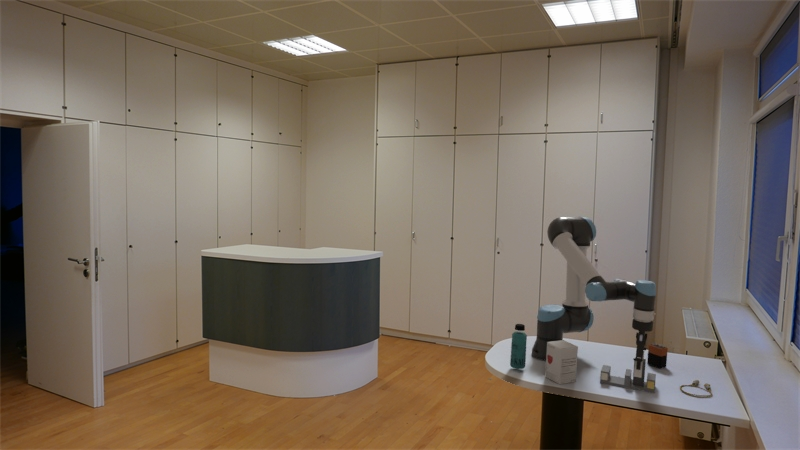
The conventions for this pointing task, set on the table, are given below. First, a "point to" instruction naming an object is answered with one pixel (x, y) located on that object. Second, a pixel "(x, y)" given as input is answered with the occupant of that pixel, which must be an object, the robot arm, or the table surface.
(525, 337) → the beverage bottle
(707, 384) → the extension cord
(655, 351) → the battery
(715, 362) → the table surface
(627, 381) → the grey three-post rail
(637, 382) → the plug
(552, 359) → the supplement box
